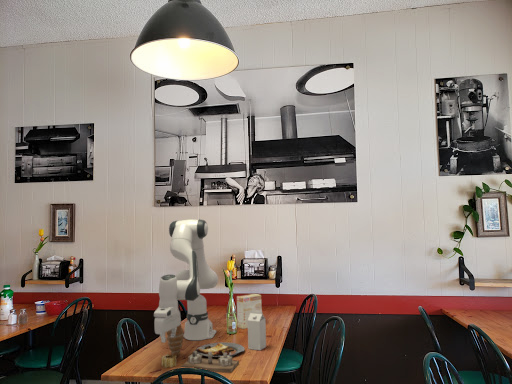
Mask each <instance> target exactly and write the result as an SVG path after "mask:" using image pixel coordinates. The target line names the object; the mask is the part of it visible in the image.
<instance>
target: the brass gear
mask: <svg viewBox="0 0 512 384" xmlns="http://www.w3.org/2000/svg"><path fill="white" fill-rule="evenodd" d="M176 366H177V356H176V355H173V354H165V355H162V356H161V367H162V368H164V369H165V368H166V369H167V368H173V367H176Z"/></svg>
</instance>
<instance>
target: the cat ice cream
mask: <svg viewBox="0 0 512 384" xmlns="http://www.w3.org/2000/svg"><path fill="white" fill-rule="evenodd" d="M171 333H172V330H170V331H168V332H166V335H167V337H166V341H167V345H168V348H169V351H170V352H171V354H173V355H176V357H178V356H179V355H180V353H181V349H182V344H183V341H184V337H183V334H184V329H183V327H182V324H180V325H179V326H177V329H176V333H175V337H171ZM171 354H170V355H171Z"/></svg>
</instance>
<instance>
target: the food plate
mask: <svg viewBox="0 0 512 384" xmlns="http://www.w3.org/2000/svg"><path fill="white" fill-rule="evenodd" d="M245 350H246V349H245V347H244V346H243V345H241V344H239V343H234V342H222V341H220V342H214V343H206V344H203V345H201V346H198V347H197V348H196V349H195V351H197V354H200V355H202V357H207V358H208V352H212V358H220V356H223V353H227V356H230V357H235V355H238V354H240V353H241V352H244V351H245ZM234 351H235V352H234Z"/></svg>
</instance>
